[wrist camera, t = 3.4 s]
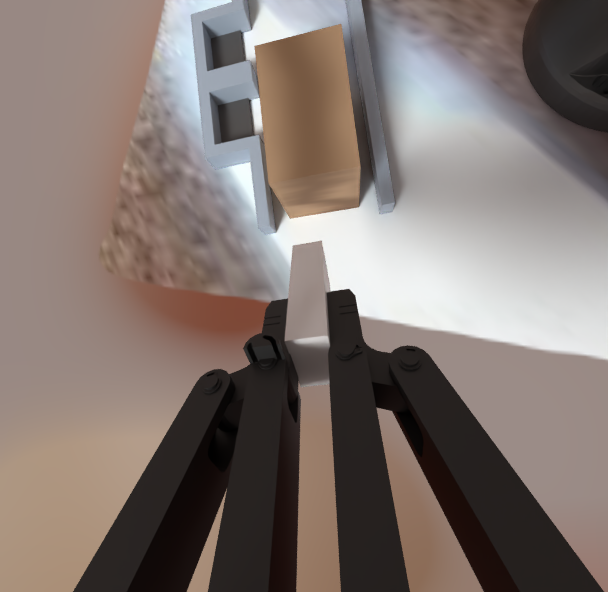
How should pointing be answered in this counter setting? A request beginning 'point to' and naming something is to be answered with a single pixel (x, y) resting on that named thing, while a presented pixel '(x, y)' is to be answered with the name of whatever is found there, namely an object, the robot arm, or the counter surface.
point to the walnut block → (309, 122)
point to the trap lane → (244, 86)
